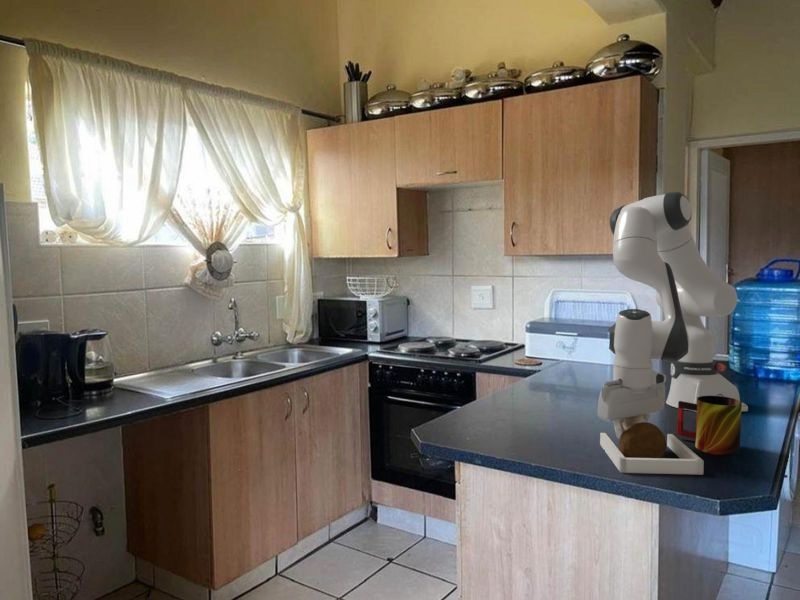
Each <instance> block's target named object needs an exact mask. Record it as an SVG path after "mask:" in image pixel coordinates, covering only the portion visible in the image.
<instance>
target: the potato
mask: <svg viewBox="0 0 800 600" xmlns="http://www.w3.org/2000/svg"><path fill="white" fill-rule="evenodd" d="M618 446H619V447H618V449H619V451H620V452H621V453H622V454H623V456H624V457H625V458H663V456H664V455H665V453H666V451H667V448H668V446H667V438H666V436H665V434H664V433H663V432H662V430H661V429H660V427H659V426H657V425H655V424H653V423H650V422H648V421H647V422H641V423H636V424H634V425H633V426H632V427H630V428H629V429H627V430H626V431H624V432H623V433H622V434H621V436H620V439H619V444H618Z"/></svg>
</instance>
